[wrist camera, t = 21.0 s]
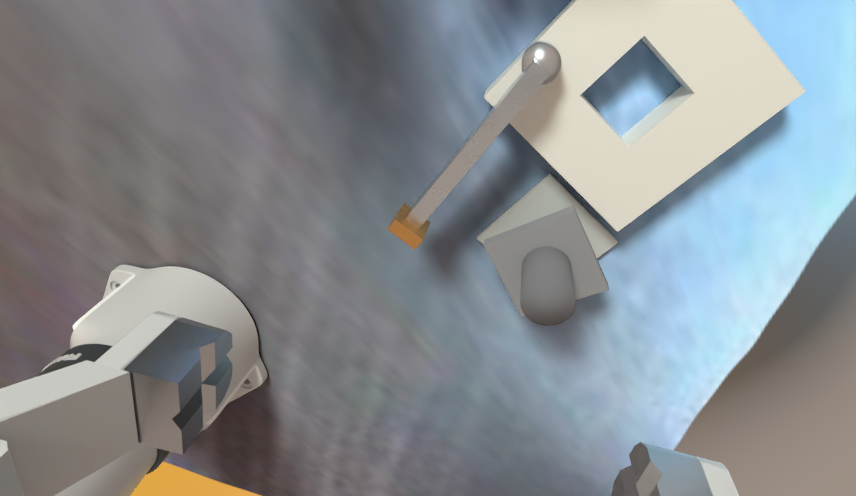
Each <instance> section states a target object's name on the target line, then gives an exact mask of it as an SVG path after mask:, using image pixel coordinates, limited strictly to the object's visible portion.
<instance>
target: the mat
mask: <svg viewBox="0 0 856 496" xmlns="http://www.w3.org/2000/svg"><path fill="white" fill-rule="evenodd" d="M573 205H574V208H575V210H576V212H577V214H578V217H579V219H580V221H581V224H582V226H583V228H584V230H585V233H586V235H587V237H588V239H589V242H590V244H591V246H592V249H593V251H594V253H595V255H596V258H598V257H600V256H601V255H603V254H604V253H605V252H607V251H608V250H609V249H611V248H612V247H613V246H615V245H616V244H618V240H617V239H616V238H615V237H614V236H613V235H612V234H611V233H610V232H609V231H608V230H607V229H606V228H605V227H604V226H603V225H602V224H601V223H600V222H599V221H598V220H597V219H596V218H595V217H594V216H593V215H592V214H591V213H590V212H589V211H588V210H587V209H586V208H585V207H584V206H583V205H582V204H581V203H580V202H579V201H578V200H577V199H576V198H575V197H574V196H573V195H572V194H571V193H570V192H569V191H568V190H567V189H566V188H565V187H564V186H563V185H562V184H561V183H560V182H559V181H558V180H557V179H556V178H555V177H554V176H553V175H552V174H551V173H549V174H548V175H547V176H546V177H544V178H543V179H542V180H541V181H540V182H539V183H538V184H536V185H535V186H534V187H533V188H532V189H531V190H530V191H528V192H527V193H526V194H525V195H524V196H523V197H521V198H520V199H519V200H518V201H517V202H516V203H515V204H513V205H512V206H511V207H510V208H509V209H508V210H507V211H505V212H504V213H503V214H502V215H501V216H500V217H499V218H497V219H496V220H495V221H494V222H493V223H492V224H491V225H489V226H488V227H487V228H486V229H485V230H484V231H483V232H481V233H480V234H479V235H478V236H477V239H478V240H479V241H480V242H481V243H482V244H483V245H484V240H485V239H487V238H490V237H492V236H495V235H498V234H500V233H503V232H505V231H508V230H511V229H513V228H516V227H518V226H521V225H524V224H526V223H529V222H531V221H534V220H536V219H539V218H542V217H544V216H547V215H549V214H552V213H555V212H557V211H560V210H562V209H565V208H568V207H570V206H573Z"/></svg>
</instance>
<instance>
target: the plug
mask: <svg viewBox="0 0 856 496" xmlns="http://www.w3.org/2000/svg"><path fill="white" fill-rule="evenodd" d="M483 246H484V248H485V250H486V251H487V253H488V255H489V257H490V259H491V261H492V263H493V265H494V267H495V268H496V270H497V272H498V274H499V276H500V278H501V280H502V282H503V284H504V285H505V287H506V289H507V291H508V293H509V295H510V297H511V299H512V301H513V302H514V304H515V306H516V308H517V310H518V312H519V314H520V316H521V317H524V316H526V317H527V318H528V319H530V320H531V321H533V322H535V323H537V324H541V325H556V324H559V323H562V322H564V321H565V320H567V319H568V318H569V317H570V316H571V315H572V314H573V312H574V310H575V307H576V300H579V299H582V298H585V297H588V296H591V295H594V294H598V293H601V292H604V291H607V290H609V287H608V283H607V280H606V278H605V276H604V274H603V271H602V269H601V267H600V265H599V262H598V260H597V258H596V255H595V253H594V251H593V249H592V246H591V244H590V242H589V239H588V237H587V235H586V233H585V230H584V228H583V226H582V224H581V221H580V219H579V217H578V214H577V212H576V210H575V208H574V205H573V206H570V207H568V208H565V209H562V210H560V211H557V212H555V213H552V214H549V215H547V216H544V217H542V218H539V219H536V220H534V221H531V222H529V223H526V224H524V225H521V226H518V227H516V228H513V229H511V230H508V231H505V232H503V233H500V234H498V235H495V236H492V237H490V238H487V239H485V240H484V245H483Z"/></svg>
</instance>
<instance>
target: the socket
mask: <svg viewBox="0 0 856 496" xmlns="http://www.w3.org/2000/svg"><path fill="white" fill-rule="evenodd" d="M640 39H642V40H643V42H644V43H645V44H646V45H647V46H648V47H649V48H650V50H651V51H652V52H653V53H654V54H655V55H656V56H657V58H658V59H659V60H660V61H661V62H662V63H663V64H664V66H665V67H666V68H667V69H668V70H669V71H670V72H671V73H672V75H673V76H674V77H675V78H676V79H677V80H678V81H679V83H680V84H681V85H682V86H680V87H679V88H678V89H677V90H676V91H674V92H673V93H672V94H671V95H670V96H669V97H667V98H666V99H665V100H664V101H663V102H661V103H660V104H659V105H658V106H657V107H656V108H654V109H653V110H652V111H651V112H650V113H648V114H647V115H646V116H645V117H644V118H642V119H641V120H640V121H639V122H638V123H637V124H635V125H634V126H633V127H632V128H631V129H629V130H628V131H627V132H626V133H625V134H624V135H622V136H621V135H620V134H619V133H618V132H617V131H616V130H615V129H614V128H613V127H612V126H611V124H610V123H609V122H608V121H607V120H606V119H605V118H604V117H603V116H602V115H601V114H600V113H599V112H598V111H597V110H596V108H595V107H594V106H593V105H592V104H591V103H590V102H589V101H588V100H587V99H586V98H585V97H584V96H583V95H582V93H583V92H584V91H585V90H586V89H587V88H588V87H590V86H591V85H592V84H593V83H594V82H595V81H596V80H597V79H598V78H599V77H600V76H601V75H602V74H604V73H605V72H606V71H607V70H608V69H609V68H610V67H611V66H612V65H613V64H614V63H615V62H616V61H618V60H619V59H620V58H621V57H622V56H623V55H624V54H625V53H626V52H627V51H628V50H629V49H630V48H632V47H633V46H634V45H635V44H636V43H637V42H638V41H639V40H640ZM537 41H547V42H549V43H551V44H553V45H554V46H555V47H556V49H557V50H558V52H559V54H560V56H561V69H560V72H559V74H558V75H557V77H556V78H555V79H554V80H553V81H551V82H549V83H547V84H544V85H541V86H540V87H539V88H538V89H537V91H536V92H535V93H534V94H533V95H532V96H531V98H530V99H529V100H528V101H527V102H526V103H525V105H524V106H523V107H522V108H521V109H520V111H519V112H518V113H517V114H516V115H515V116H514V118H513V119H512V120H511V121H510V122H509V123H510V124H511V125H512V126H513V127H514V128H515V129H516V130H517V131H518V132H519V133H520V134H521V135H522V136H523V137H524V138H525V139H526V140H527V141H528V142H529V143H530V144H531V145H532V146H533V147H534V148H535V149H536V150H537V151H538V152H539V153H540V154H541V155H542V156H543V157H544V158H545V159H546V161H547V162H548V163H549V164H550V165H551V166H552V167H553V168H554V169H555V170H556V171H557V172H558V173H559V174H560V175H561V176H562V177H563V178H564V179H565V180H566V181H567V182H568V183H569V184H570V185H571V186H572V187H573V188H574V189H575V190H576V191H577V192H578V193H579V194H580V195H581V196H582V197H583V198H584V199H585V200H586V201H587V202H588V203H589V204H590V205H591V206H592V207H593V208H594V209H595V210H596V211H597V212H598V213H599V214H600V215H601V216H602V217H603V218H604V219H605V220H606V221H607V222H608V223H609V224H610V225H611V226H612V227H613V228H614V229H615V230H616V231H617V232H618V231H620V230H621V229H622V228H624V227H625V226H626V225H628V224H629V223H630V222H632V221H633V220H634V219H636V218H637V217H638V216H640V215H641V214H642V213H644V212H645V211H646V210H648V209H649V208H650V207H652V206H653V205H654V204H656V203H657V202H658V201H660V200H661V199H662V198H664V197H665V196H666V195H668V194H669V193H670V192H672V191H673V190H674V189H676V188H677V187H678V186H680V185H681V184H682V183H684V182H685V181H686V180H688V179H689V178H691V177H692V176H693V175H695V174H696V173H697V172H699V171H700V170H701V169H703V168H704V167H705V166H707V165H708V164H709V163H711V162H712V161H713V160H715V159H716V158H717V157H719V156H720V155H721V154H723V153H724V152H725V151H727V150H728V149H729V148H731V147H732V146H733V145H735V144H736V143H737V142H739V141H740V140H741V139H743V138H744V137H745V136H747V135H748V134H749V133H751V132H752V131H753V130H755V129H756V128H757V127H759V126H760V125H761V124H763V123H764V122H765V121H767V120H768V119H769V118H771V117H772V116H773V115H775V114H776V113H777V112H779V111H780V110H781V109H783V108H784V107H786V106H787V105H788V104H790V103H791V102H792V101H794V100H795V99H796V98H798V97H799V96H800V95H802V94H803V93H804V92H806V91H805V90H804V88H803V87H802V86H801V85H800V83H799V82H798V81H797V80H796V78H795V77H794V76H793V75H792V74H791V72H790V71H789V70H788V69H787V67H786V66H785V65H784V64H783V62H782V61H781V60H780V59H779V57H778V56H777V55H776V54H775V53H774V51H773V50H772V49H771V48H770V46H769V45H768V44H767V43H766V41H765V40H764V39H763V38H762V36H761V35H760V34H759V33H758V32H757V30H756V29H755V28H754V27H753V25H752V24H751V23H750V22H749V20H748V19H747V18H746V17H745V15H744V14H743V13H742V12H741V11H740V9H739V8H738V7H737V6H736V4H735V3H734V2H733V1H732V0H571V1H570V2H569V3H568V5H567V6H566V7H565V8H564V9H563V10H562V11H561V12H560V13H559V14H558V15H557V16H556V17H555V18H554V19H553V20H552V21H551V22H550V23H549V24H548V25H547V26H546V28H545V29H544V30H543V31H542V32H541V33H540V34H539V35H538V36H537V37H536V38H535V39H534V40H533V41H532V42H531V43H530V44H529V45H528V46H530V45H531V44H533V43H535V42H537ZM528 46H527V47H528ZM527 47H526V48H525V49H524V51H525V50H526V49H527ZM524 51H523V52H522V53H521V54H520V55H519V56H518V57H517V58H516V59H515V60H514V61H513V62H512V63H511V64H510V65H509V66H508V67H507V68H506V69H505V70H504V71H503V72H502V73H501V75H500V76H499V77H498V78H497V79H496V80H495V81H494V82H493V83H492V84H491V85H490V86H489V87H488V88H487V89H486V92H485V94H484V98H485V99H486V100H487V101H488V102H489V103H490V104H491V105H492V106H493V107H494V106H495V104H496V103H497V102H498V101H499V99H500V98H501V97H502V96H503V95H504V93H505V92H506V91H507V90H508V88H509V87H510V86H511V85H512V84H513V82H514V81H515V80H516V79H517V77H518V76H519V75H520V74H521V72H522V56H523V53H524Z"/></svg>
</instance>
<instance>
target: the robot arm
mask: <svg viewBox="0 0 856 496" xmlns="http://www.w3.org/2000/svg"><path fill="white" fill-rule="evenodd" d="M73 330H74V331H73V333H72V336H71V340H70V349H69V350H68V351H66V352H65V353H64V354H63V355H61V356H60V357H58V358H57V359H55V360H53V361H52V362H51V363H50V364H48V365H47V366H46V367H45V368H44V369H43V370H42V372H41V373H40V374H39V375H38V376H37V377H35V378H32V379H29V380H26V381H23V382H20V383H17V384H14V385H11V386H8V387H5V388H1V389H0V496H130V495H131V493H132V492H133V491H134V489H135V488H136V487H137V485H138V484H139V483H140V481H141V480H142V479H143V477H144V476H145V475H146V474H148V473H151V472H152V471H154V470H155V469H156V468H157V467H158V466H159V465H160V464H161V463H162V462H163V460H165V459H166V458H167V457H168V456H169V455H170V454H171V452H174V453H178V454H182V455H183V454H184V452H185V451H186V450H187V448H188V447H189V446H190V444H191V443H192V442H193V440H194V439H195V438H196V436H197V435H198V434H199V433H200V432H201V431H202V430H205V429H206V428H208V427H209V426H210V425H211V423H212V422H213V421H214V420H215V419H216V418H217V416H218V415H219V414H220V413H221V411H222V410H223V409H224V407H225V406H226V405H227V404H228V403H230V402H231V401H233V400H235V399H237V398H239V397H241V396H242V395H244V394H246V393H248V392H250V391H252V390H254V389H255V388H257V387H259V386H261V385H262V384H263V382H264V381H265V380H266V379H267V371H266V369H265V366H264V364H263V362H262V360H261V358H260V356H259V347H258V334H257V330H256V327H255V324H254V322H253V319H252V318H251V316H250V314H249V312H248V311H247V309H246V308H245V306H244V305H243V304H242V303H241V301H240V300H239V299H238V298H237V297H236V296H235V295H234V294H233V293H232V292H231V291H230V290H228V289H227V288H226V287H225V286H223V285H222V284H220V283H219V282H217V281H216V280H214V279H212V278H211V277H209V276H207V275H204V274H202V273H200V272H197V271H194V270H191V269H187V268H182V267H159V268H153V269H143V268H139V267H135V266H130V265H119V266H117V267H116V268H115V269H114V270H113V271H112V272H111V274H110V276H109V280H108V283H107V287H106V290H105V293H104V297H103V300H102V301H100V302H99V303H98V304H97V305H96V306H94V307H93V308H92V309H91V310H90V311H88V312H87V313H86V314H85V315H83V316H82V317H81V318H80V319H79V320H78V321H77V322H76V323H75V324H74V325H73ZM629 456H630V460H631V466H629V467H627V468H624V469H622V470H620V472H619V474H618V476H617V478H616V480H615V482H614V486H613V491H612V496H739V495H738V492H737V490H736V488H735V485H734V483H733V481H732V478H731V476H730V474H729V471H728V469H727V468H726V467H725V466H724V465H723V464H722V463H719V462H716V461H711V460H707V459H704V458H700V457H696V456H691V455H688V454H684V453H680V452H676V451H672V450H668V449H665V448H661V447H657V446H653V445H649V444H646V443H642V442H640V443H639V444H637V445H636V446H634V448H633V450H632V451H631V453H630V455H629Z"/></svg>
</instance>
